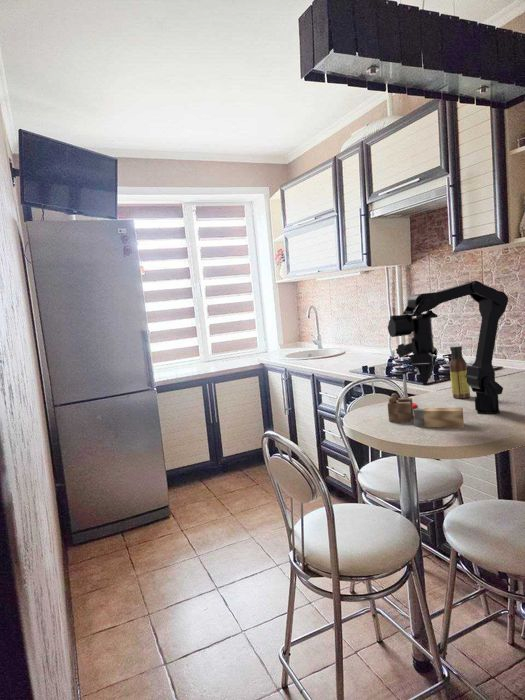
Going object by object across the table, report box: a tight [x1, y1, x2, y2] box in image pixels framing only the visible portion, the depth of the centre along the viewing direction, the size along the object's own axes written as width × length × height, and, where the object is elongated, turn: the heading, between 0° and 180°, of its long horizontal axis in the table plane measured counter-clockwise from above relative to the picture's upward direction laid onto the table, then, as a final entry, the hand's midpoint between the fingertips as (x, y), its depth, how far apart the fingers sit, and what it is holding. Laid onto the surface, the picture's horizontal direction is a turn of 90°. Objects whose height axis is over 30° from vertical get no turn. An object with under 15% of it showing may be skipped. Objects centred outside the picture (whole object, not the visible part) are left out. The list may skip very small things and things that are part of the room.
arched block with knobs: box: [387, 392, 414, 422], centre depth 146 cm, size 7×8×8 cm
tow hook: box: [402, 373, 418, 410], centre depth 161 cm, size 8×13×9 cm
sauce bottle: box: [448, 345, 471, 399], centre depth 166 cm, size 6×6×20 cm
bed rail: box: [413, 407, 465, 428], centre depth 134 cm, size 14×4×5 cm, turn 66°
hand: (426, 381), depth 140 cm, fingers open, 9 cm apart
